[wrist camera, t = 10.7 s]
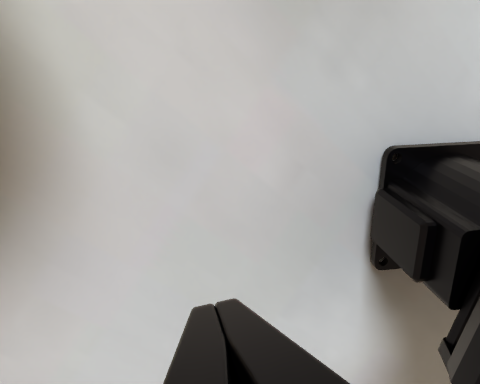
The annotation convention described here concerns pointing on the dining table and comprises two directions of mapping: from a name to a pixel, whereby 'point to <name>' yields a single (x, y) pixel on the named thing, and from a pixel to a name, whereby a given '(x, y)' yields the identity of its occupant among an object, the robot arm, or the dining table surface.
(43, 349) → the dining table surface
